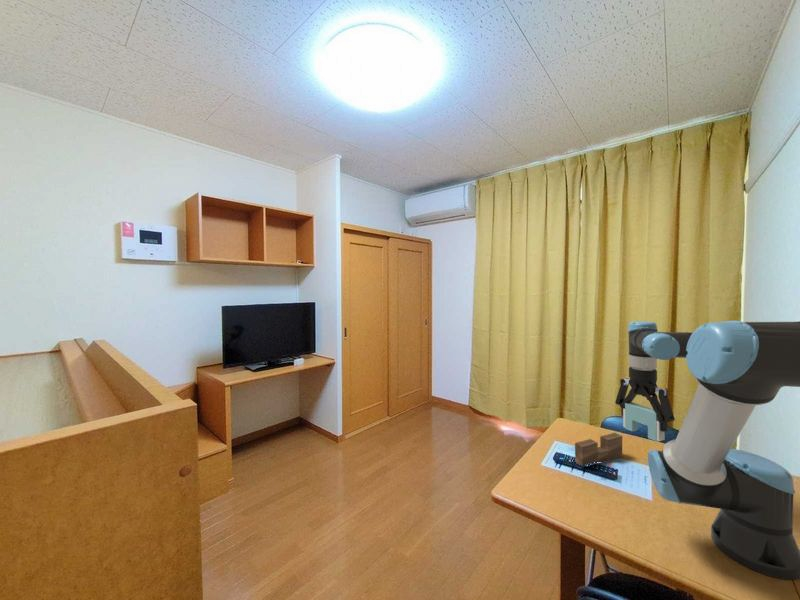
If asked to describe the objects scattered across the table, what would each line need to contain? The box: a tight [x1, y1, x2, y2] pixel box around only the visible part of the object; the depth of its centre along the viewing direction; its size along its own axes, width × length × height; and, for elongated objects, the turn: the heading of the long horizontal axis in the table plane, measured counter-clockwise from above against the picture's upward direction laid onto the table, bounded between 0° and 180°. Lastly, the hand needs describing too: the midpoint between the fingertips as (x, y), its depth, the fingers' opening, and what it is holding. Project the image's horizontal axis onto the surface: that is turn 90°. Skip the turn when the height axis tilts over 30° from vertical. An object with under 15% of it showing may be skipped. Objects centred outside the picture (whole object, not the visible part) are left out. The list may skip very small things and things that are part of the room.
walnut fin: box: [574, 432, 623, 466], centre depth 119 cm, size 3×20×8 cm, turn 109°
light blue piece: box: [624, 401, 659, 442], centre depth 107 cm, size 10×3×9 cm, turn 19°
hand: (643, 433), depth 107 cm, fingers closed on light blue piece, 10 cm apart
